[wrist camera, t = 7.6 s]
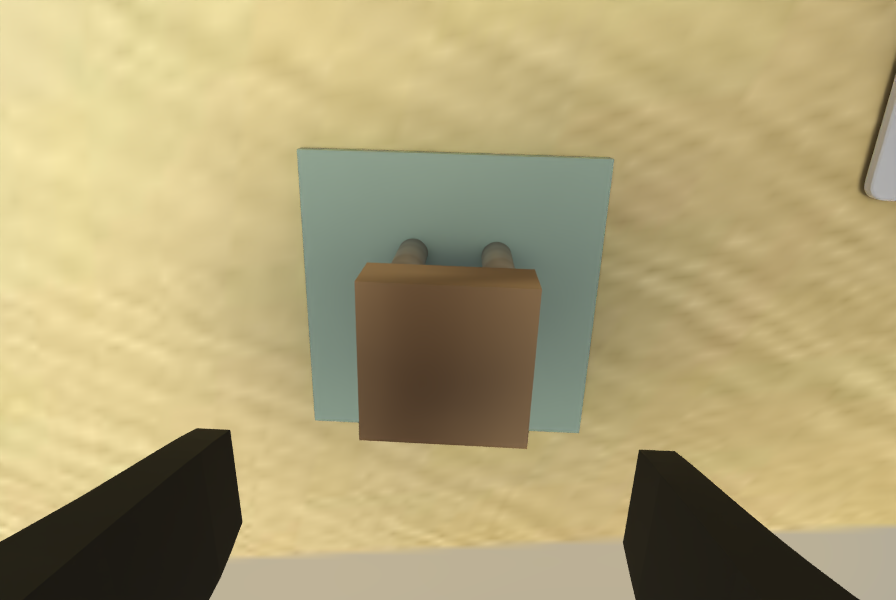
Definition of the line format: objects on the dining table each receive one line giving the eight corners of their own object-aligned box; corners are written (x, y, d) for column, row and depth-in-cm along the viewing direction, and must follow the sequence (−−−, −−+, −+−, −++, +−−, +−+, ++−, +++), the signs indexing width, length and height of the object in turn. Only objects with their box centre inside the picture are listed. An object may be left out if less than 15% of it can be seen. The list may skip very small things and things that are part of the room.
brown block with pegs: (522, 233, 18) (542, 289, 13) (512, 354, 19) (526, 448, 14) (389, 228, 18) (354, 281, 13) (390, 348, 20) (359, 440, 14)
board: (609, 157, 18) (614, 159, 17) (576, 424, 21) (579, 433, 20) (302, 147, 18) (297, 149, 17) (319, 411, 21) (315, 420, 21)
